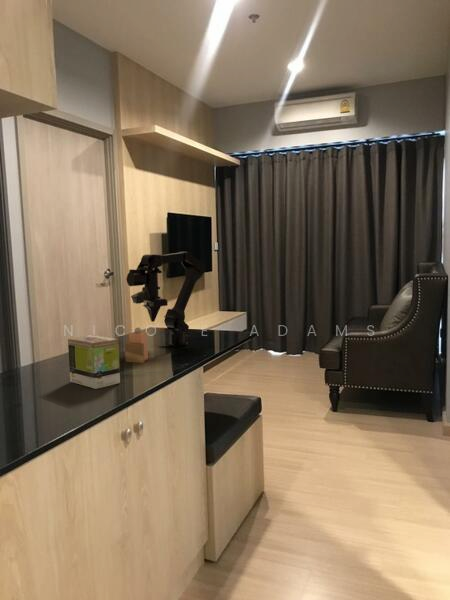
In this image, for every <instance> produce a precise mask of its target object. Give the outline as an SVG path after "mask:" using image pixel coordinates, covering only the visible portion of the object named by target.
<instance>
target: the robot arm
mask: <svg viewBox="0 0 450 600" xmlns="http://www.w3.org/2000/svg"><path fill="white" fill-rule="evenodd" d="M177 262H178V263H179V262H180V263H181V265H182V266H183V268H184V275H185V279H184V282H183V283H182V286H181V288H180V291H179V294H178V296H177V299H176V301H175V304H174V306H173V307H172V308H167V311H166V313H165V315H164V321H163V322H164V325H165V326H166V328H167V331H169V335H168V337H169V343H168V345H171V346H174V347H178V346H186V345H189V343H188V342H187V332H188V331H189V328H190V326H189V325H188V323H186V321H185V320H186V315H185V314H186V313H185V310H186V308H187V305H188V302H189V300H190V297H191V296H192V293H193V290H194V289H195V285H196V282H197V281H199V280H200V279H201V278H202V277H203V275H204V273H205V272H206V271H205V270H206V266H205V264H204V263H203V262H202V261H200V259H198V258H197V257H195V256H194V255H192V254H191V253H190V252H189V251H179V252H176V253H175V252H174V253H167V254H143V255H142V257H141V259H140V261H139V264H138V266H137V268H136V269H128V273H127V275H126V279H125V280H126V284H127V285H128V286H129V287H140V286H143V287H142V288H141V290H140V291H138V292H136V293H134V294H131V296H130V297H131V300H132V302H133V303H134V304H136V305H138V304H139V305H140V304H142V303H143V304H142V307H144V308H145V309H146V310H147V313H148V316H149V319H150V321H151V322H152V323H153V322H155V321H156V318H157V316H158V313H159V312H160V309H161V307H165V306H166V307H167V306H168V300H167V299H166V298H164V297H163V298H162V297H161V296H159V290H161V286H159V281H158V280H159V274H162V273H163V271H162V270H161V269H160V267H162V266H163V265H166V264H171V263H177Z"/></svg>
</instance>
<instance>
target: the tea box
mask: <svg viewBox="0 0 450 600" xmlns="http://www.w3.org/2000/svg"><path fill="white" fill-rule="evenodd" d="M67 347H68V348H67V349H68V365H69V366H68V367H69V379H70V381H69V382H71V383H73V384H79V385H80V386H84V387H88V388H91V389H94V390H96V389H101V388H105V387H110V386H114V385H117V384H120V382H121V373H120V372H121V371H120V369H121V368H120V354H119V353H120V351H119V350H120V349H119V347H120V346H119V339H118V338H117V337H115V338H114V337H108V336H102V335H97V334H96V335H94V334H89V335H84V336H78V337H71V338H67Z"/></svg>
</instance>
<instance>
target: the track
mask: <svg viewBox="0 0 450 600" xmlns="http://www.w3.org/2000/svg"><path fill="white" fill-rule="evenodd" d="M124 351H125V353H124V354H125V363H143V364H144V363H145V362H146V360H145V358H144V343H129V342H125V343H124Z"/></svg>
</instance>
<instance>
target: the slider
mask: <svg viewBox="0 0 450 600" xmlns="http://www.w3.org/2000/svg"><path fill="white" fill-rule="evenodd" d="M128 341H129V342H128V343H144V358H145V361H146V360H148V359H149V356H148V355H149V354H148V333H147V332H143V331H142V328H140V327H135V328H134V332H132V333H129V334H128Z"/></svg>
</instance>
